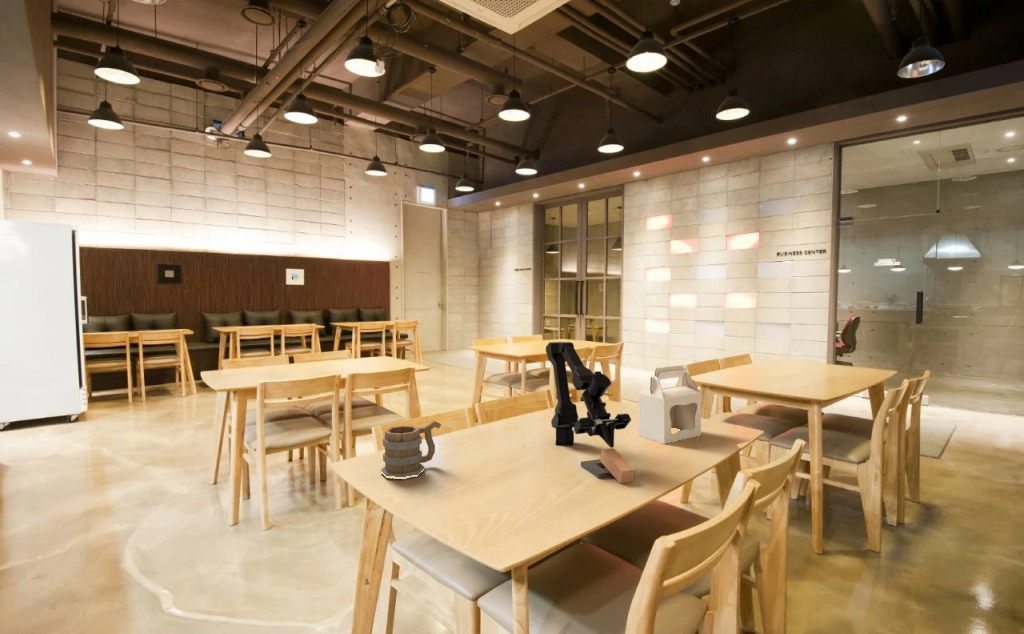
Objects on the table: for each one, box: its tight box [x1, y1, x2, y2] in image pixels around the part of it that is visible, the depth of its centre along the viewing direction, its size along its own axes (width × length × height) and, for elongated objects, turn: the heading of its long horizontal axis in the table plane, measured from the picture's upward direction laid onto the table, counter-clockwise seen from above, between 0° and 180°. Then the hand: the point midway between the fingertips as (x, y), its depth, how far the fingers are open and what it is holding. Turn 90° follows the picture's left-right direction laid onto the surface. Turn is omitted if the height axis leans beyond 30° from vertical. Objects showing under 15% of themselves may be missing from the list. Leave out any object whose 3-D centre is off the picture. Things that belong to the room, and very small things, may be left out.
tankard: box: [380, 420, 442, 477], centre depth 155 cm, size 20×13×15 cm, turn 123°
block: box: [599, 447, 635, 484], centre depth 148 cm, size 4×4×12 cm
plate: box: [580, 458, 615, 480], centre depth 154 cm, size 12×12×2 cm
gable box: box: [638, 365, 702, 445], centre depth 192 cm, size 22×13×28 cm, turn 122°
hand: (612, 447), depth 150 cm, fingers closed
